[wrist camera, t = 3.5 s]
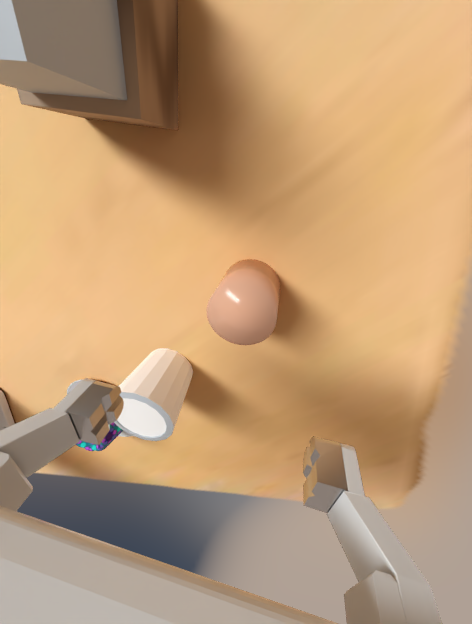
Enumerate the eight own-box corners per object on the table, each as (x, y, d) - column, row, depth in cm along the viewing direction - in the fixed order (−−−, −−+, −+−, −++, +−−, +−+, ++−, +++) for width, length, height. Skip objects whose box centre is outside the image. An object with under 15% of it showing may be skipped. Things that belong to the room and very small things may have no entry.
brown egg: (274, 316, 23) (269, 351, 18) (221, 306, 23) (205, 337, 19) (285, 264, 20) (283, 291, 16) (225, 254, 21) (208, 277, 16)
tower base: (179, 130, 17) (140, 119, 13) (86, 118, 18) (21, 103, 13) (178, -31, 13) (124, -122, 9) (61, -38, 14) (-40, -125, 10)
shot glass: (210, 375, 28) (188, 431, 22) (173, 395, 31) (144, 448, 25) (166, 333, 26) (129, 382, 20) (131, 359, 29) (91, 408, 24)
